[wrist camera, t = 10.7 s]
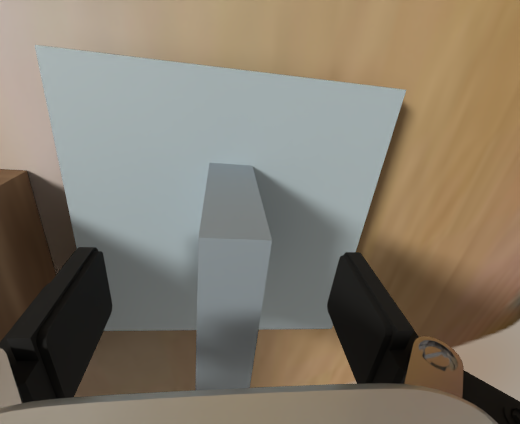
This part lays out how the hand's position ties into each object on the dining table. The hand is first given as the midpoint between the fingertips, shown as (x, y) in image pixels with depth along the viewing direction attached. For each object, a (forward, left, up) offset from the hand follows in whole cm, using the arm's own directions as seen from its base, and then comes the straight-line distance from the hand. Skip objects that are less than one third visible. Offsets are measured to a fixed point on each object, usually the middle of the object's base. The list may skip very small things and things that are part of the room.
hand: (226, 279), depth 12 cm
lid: (0, 0, -6) cm, 6 cm away
